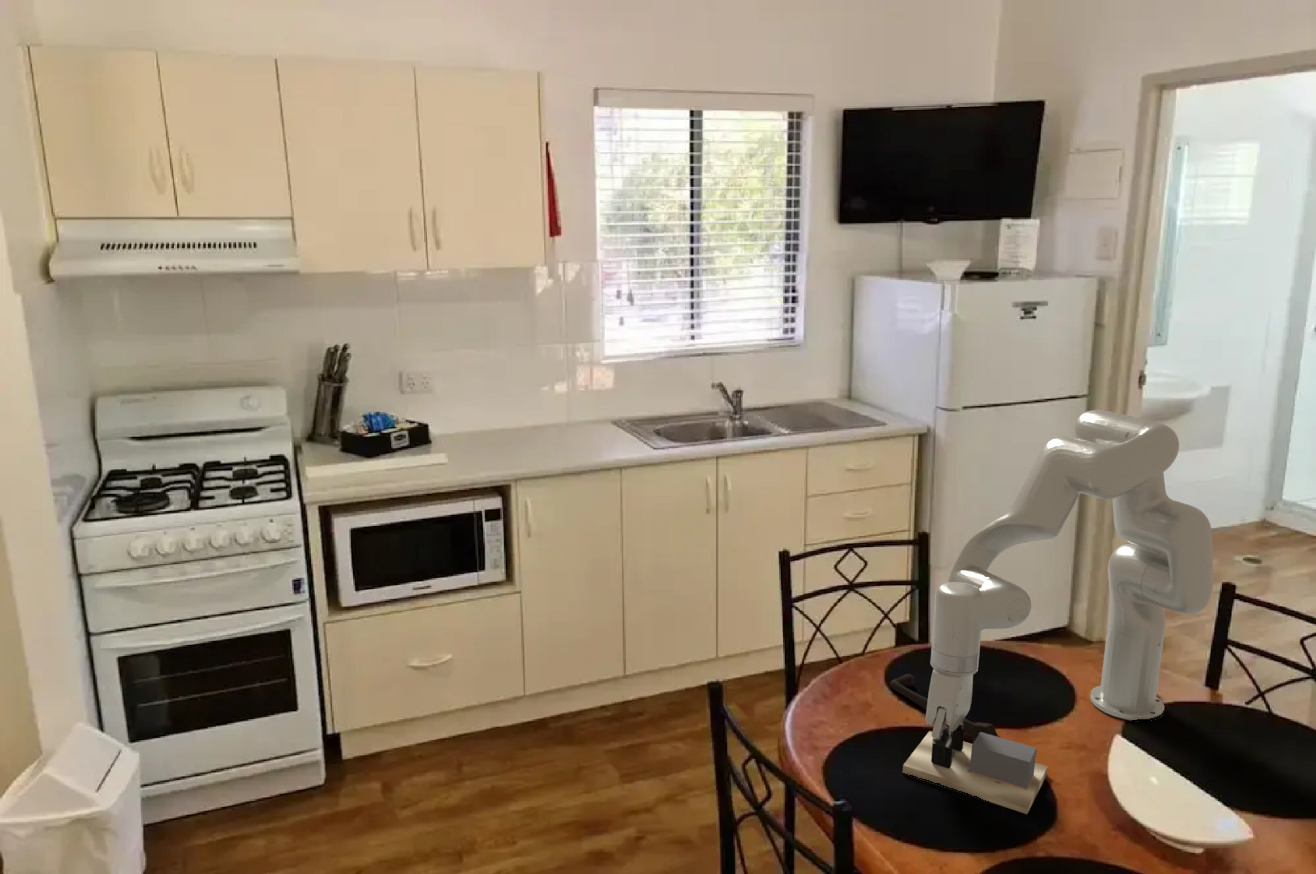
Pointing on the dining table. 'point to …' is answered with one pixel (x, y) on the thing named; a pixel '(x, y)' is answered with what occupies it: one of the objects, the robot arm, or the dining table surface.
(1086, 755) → the dining table surface
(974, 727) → the wrench
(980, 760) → the block
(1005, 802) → the board
